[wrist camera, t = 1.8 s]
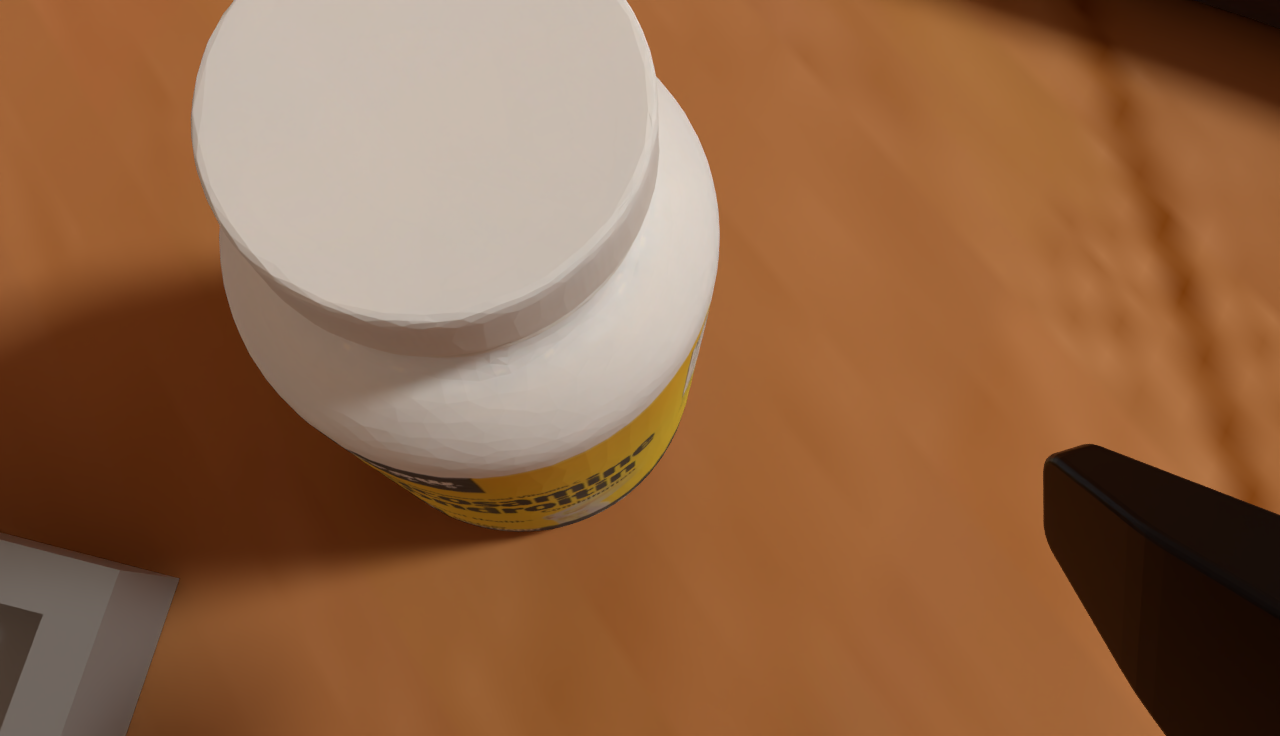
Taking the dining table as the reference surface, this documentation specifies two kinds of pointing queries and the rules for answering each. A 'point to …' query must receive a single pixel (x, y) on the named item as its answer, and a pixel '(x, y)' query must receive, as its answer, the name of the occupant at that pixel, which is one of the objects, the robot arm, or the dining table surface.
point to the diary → (1251, 9)
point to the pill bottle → (463, 240)
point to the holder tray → (74, 639)
